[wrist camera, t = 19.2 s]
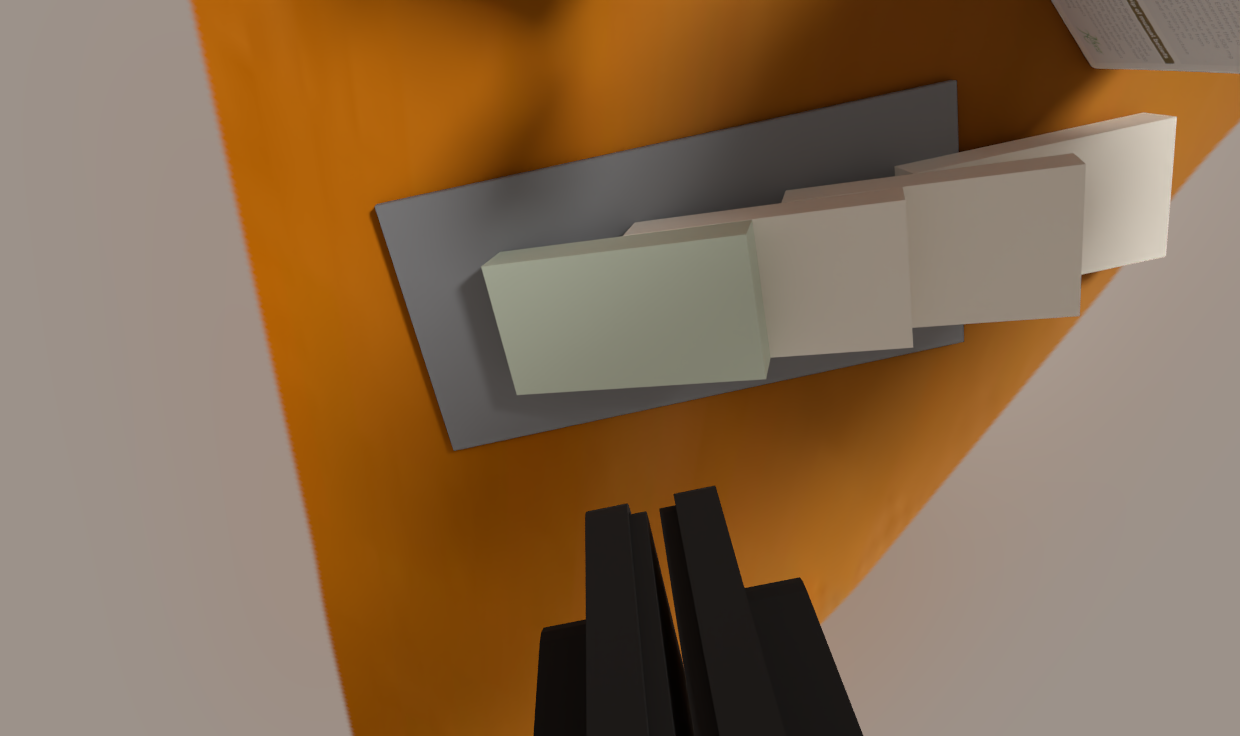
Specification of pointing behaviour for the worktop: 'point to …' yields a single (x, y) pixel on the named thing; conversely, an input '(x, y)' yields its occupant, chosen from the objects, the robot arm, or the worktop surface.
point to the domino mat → (607, 207)
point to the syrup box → (1156, 33)
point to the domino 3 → (988, 238)
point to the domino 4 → (1101, 182)
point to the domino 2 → (826, 270)
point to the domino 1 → (632, 310)
